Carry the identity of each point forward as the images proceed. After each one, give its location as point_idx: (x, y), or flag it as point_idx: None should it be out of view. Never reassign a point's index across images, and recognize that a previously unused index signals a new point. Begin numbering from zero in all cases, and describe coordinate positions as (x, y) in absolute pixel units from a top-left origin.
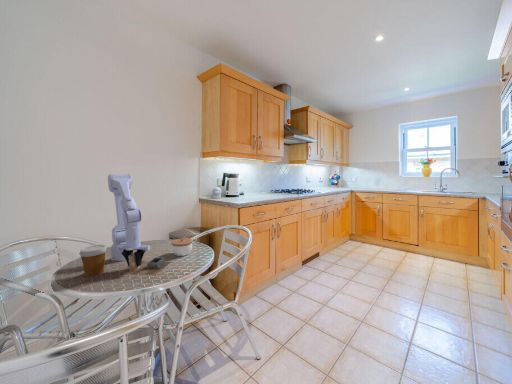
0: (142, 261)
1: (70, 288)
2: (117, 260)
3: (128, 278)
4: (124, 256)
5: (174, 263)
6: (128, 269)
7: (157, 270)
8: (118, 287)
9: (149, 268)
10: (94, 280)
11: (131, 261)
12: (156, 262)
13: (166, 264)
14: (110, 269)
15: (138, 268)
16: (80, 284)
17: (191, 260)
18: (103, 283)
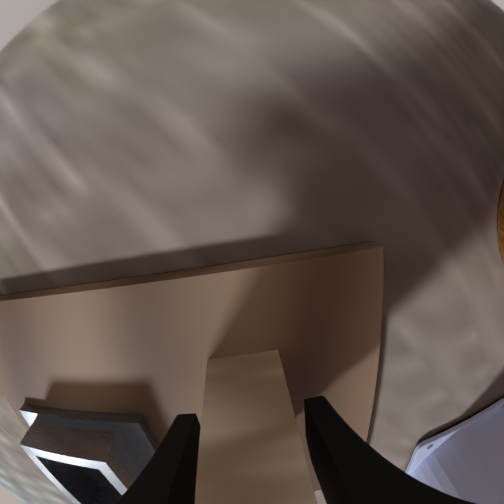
0: None
1: (494, 10)
2: (485, 421)
3: (155, 203)
4: (419, 497)
5: None
6: (317, 370)
7: (13, 380)
8: (112, 16)
9: (95, 413)
10: (479, 113)
11: (250, 457)
12: None
13: None
14: (486, 327)
15: None
16: (499, 54)
17: (30, 485)
18: (357, 47)
